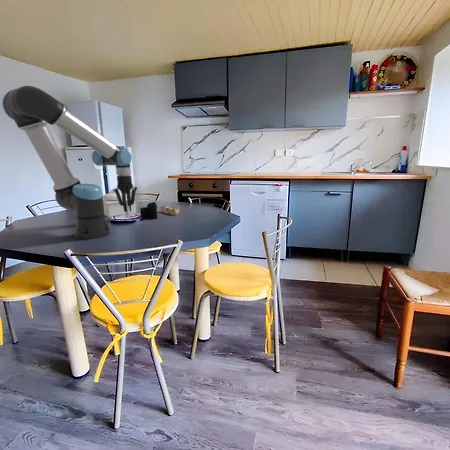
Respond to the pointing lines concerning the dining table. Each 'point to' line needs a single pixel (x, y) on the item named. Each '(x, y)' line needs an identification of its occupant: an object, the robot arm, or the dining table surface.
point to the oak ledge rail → (170, 210)
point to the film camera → (149, 211)
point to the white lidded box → (115, 205)
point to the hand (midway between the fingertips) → (128, 217)
